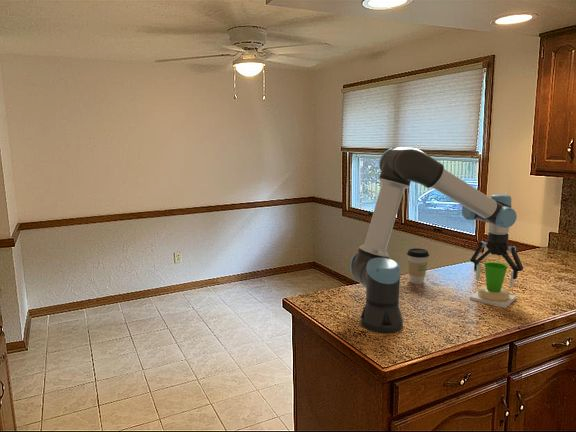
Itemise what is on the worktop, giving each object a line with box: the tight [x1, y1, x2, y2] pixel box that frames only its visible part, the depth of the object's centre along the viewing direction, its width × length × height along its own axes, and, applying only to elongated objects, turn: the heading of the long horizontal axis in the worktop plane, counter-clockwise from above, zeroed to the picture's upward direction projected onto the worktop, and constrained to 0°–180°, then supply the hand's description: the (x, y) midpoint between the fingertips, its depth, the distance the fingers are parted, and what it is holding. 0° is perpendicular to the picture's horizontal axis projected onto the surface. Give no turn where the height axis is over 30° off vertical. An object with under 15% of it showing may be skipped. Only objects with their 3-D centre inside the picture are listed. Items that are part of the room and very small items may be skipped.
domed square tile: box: [469, 285, 517, 309], centre depth 185 cm, size 14×14×4 cm
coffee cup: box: [406, 248, 430, 285], centre depth 207 cm, size 10×10×15 cm
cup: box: [483, 261, 509, 292], centre depth 184 cm, size 9×9×11 cm
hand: (494, 282), depth 184 cm, fingers open, 13 cm apart
